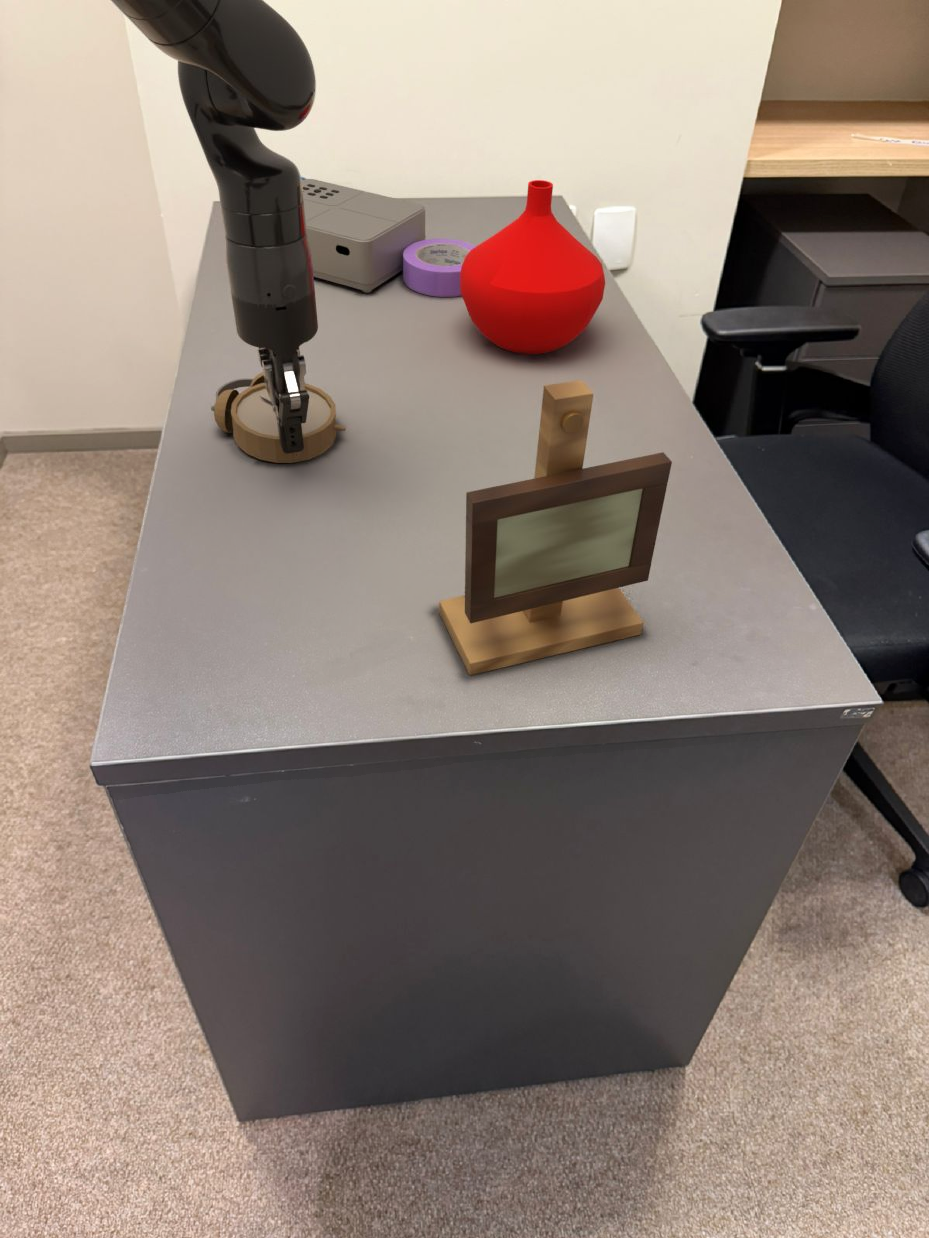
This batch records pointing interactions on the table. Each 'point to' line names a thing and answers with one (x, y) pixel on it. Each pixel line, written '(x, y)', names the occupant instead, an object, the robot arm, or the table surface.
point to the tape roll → (435, 266)
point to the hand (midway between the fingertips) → (292, 449)
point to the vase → (532, 281)
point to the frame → (562, 535)
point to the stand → (559, 621)
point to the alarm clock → (273, 421)
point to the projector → (358, 233)
